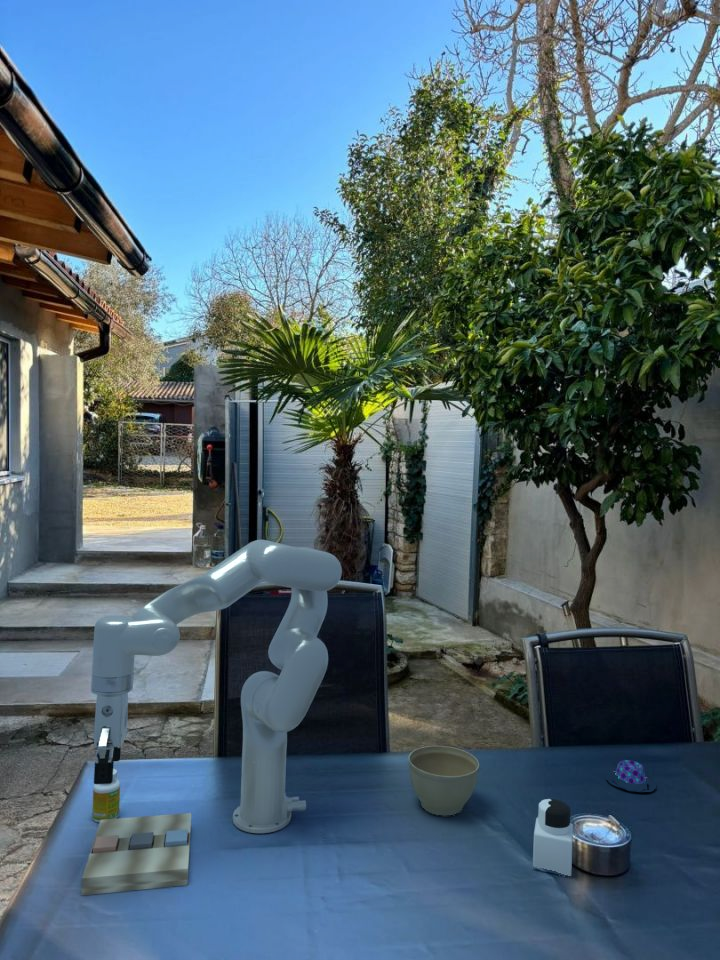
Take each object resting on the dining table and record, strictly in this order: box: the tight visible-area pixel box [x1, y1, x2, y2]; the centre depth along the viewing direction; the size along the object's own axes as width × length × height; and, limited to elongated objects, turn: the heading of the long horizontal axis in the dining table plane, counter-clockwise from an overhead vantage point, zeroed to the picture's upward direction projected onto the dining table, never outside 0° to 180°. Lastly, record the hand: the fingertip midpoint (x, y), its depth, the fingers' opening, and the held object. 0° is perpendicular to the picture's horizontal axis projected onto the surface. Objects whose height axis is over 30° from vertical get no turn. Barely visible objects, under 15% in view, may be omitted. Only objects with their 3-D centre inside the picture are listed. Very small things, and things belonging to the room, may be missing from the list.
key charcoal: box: [130, 832, 154, 850], centre depth 126 cm, size 4×4×2 cm
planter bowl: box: [407, 745, 480, 816], centre depth 150 cm, size 16×16×11 cm
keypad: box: [80, 812, 192, 896], centre depth 126 cm, size 18×20×3 cm
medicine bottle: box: [532, 798, 574, 877], centre depth 129 cm, size 7×7×12 cm
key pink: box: [93, 835, 119, 853], centre depth 125 cm, size 4×4×2 cm
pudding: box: [615, 759, 647, 784], centre depth 166 cm, size 12×12×5 cm
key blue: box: [165, 829, 188, 847], centre depth 128 cm, size 4×4×2 cm
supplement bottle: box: [91, 768, 121, 824], centre depth 141 cm, size 5×5×10 cm
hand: (107, 771), depth 125 cm, fingers open, 9 cm apart
